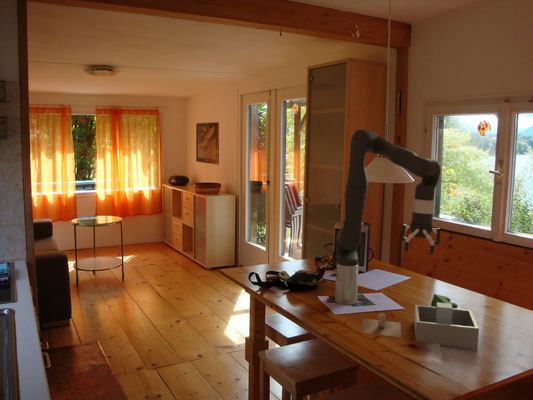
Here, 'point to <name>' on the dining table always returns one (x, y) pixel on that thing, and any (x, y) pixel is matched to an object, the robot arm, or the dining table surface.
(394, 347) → the dining table surface
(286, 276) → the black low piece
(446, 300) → the clamp
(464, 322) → the bin
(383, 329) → the stud block
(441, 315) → the pale grey rectangular block
